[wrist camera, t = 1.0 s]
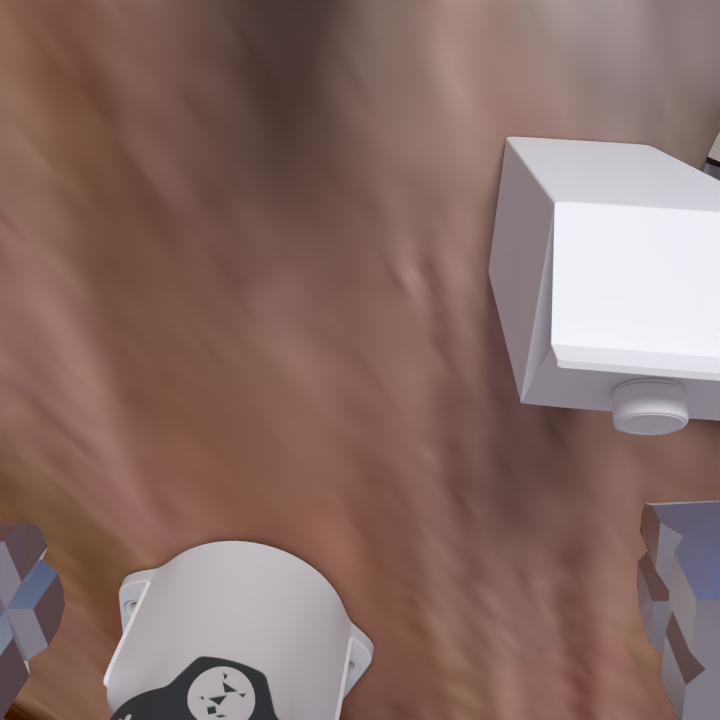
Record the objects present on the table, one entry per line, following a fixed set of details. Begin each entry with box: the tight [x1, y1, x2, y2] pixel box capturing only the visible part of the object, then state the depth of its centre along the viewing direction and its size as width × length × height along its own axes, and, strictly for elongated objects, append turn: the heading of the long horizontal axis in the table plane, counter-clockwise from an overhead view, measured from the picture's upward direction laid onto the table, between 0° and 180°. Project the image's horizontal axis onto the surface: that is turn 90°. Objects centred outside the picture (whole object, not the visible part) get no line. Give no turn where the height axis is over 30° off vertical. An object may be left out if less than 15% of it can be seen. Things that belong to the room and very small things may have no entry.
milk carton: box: [488, 137, 720, 435], centre depth 27 cm, size 7×7×19 cm
